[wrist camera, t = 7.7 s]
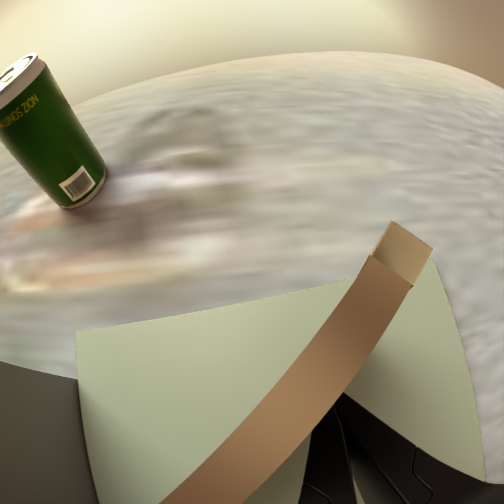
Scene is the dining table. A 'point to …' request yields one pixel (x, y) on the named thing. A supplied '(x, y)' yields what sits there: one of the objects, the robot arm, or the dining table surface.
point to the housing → (222, 397)
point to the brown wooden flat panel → (311, 377)
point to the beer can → (47, 134)
